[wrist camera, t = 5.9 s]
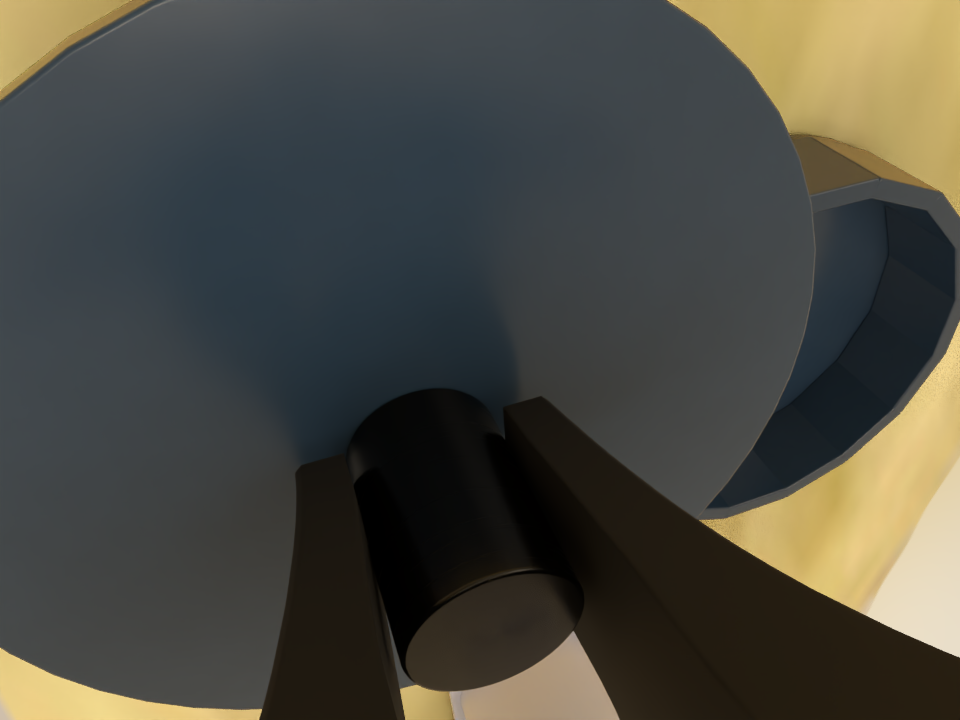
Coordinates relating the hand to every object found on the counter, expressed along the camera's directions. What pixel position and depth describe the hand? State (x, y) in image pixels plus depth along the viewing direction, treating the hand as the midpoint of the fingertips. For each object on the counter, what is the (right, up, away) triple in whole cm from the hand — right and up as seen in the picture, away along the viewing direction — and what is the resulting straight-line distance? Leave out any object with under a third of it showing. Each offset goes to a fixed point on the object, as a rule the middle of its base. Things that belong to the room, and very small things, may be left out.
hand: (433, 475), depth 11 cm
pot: (+9, +3, +15) cm, 18 cm away
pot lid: (0, +1, +1) cm, 1 cm away
